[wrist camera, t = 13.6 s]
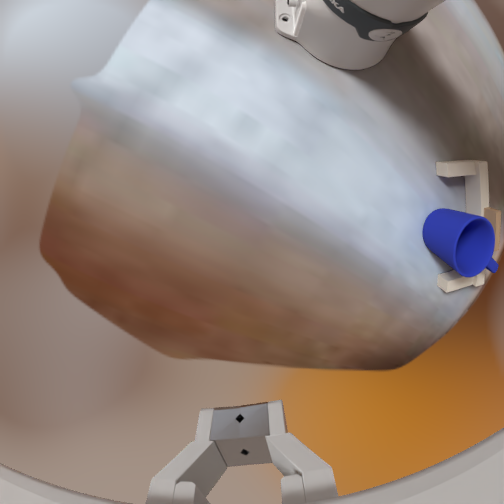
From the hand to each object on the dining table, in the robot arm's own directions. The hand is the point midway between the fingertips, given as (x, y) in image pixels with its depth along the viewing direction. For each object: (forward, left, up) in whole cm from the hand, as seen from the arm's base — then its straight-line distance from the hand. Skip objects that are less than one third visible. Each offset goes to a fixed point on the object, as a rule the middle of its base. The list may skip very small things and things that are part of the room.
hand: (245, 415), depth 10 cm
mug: (+6, +30, -31) cm, 44 cm away
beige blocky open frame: (+5, +33, -31) cm, 46 cm away
